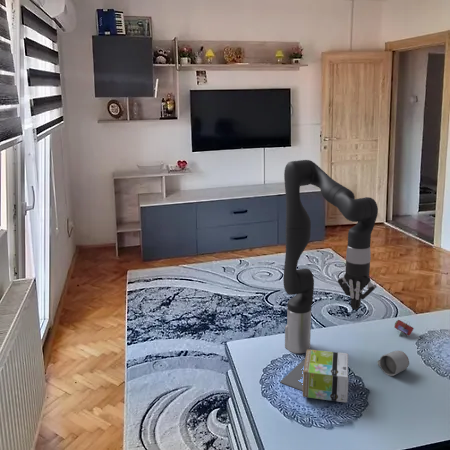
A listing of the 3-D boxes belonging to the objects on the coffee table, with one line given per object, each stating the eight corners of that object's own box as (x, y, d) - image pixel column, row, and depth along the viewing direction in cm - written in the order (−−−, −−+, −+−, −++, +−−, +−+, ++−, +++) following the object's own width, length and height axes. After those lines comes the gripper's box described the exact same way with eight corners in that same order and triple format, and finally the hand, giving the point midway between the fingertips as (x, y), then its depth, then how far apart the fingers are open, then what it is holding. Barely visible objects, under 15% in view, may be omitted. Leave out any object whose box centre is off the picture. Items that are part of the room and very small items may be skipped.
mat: (279, 382, 174) (279, 381, 174) (306, 357, 189) (306, 356, 189) (315, 396, 166) (315, 395, 166) (340, 369, 181) (340, 368, 181)
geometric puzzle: (418, 329, 205) (407, 313, 205) (415, 336, 199) (404, 319, 200) (403, 335, 209) (393, 319, 209) (400, 342, 203) (389, 326, 204)
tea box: (349, 376, 157) (302, 371, 161) (347, 403, 160) (302, 398, 163) (348, 352, 172) (305, 348, 175) (347, 377, 174) (305, 373, 178)
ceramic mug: (410, 371, 179) (411, 352, 177) (396, 379, 174) (397, 360, 172) (385, 360, 187) (386, 341, 185) (371, 367, 182) (372, 348, 181)
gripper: (333, 258, 159) (331, 307, 164) (373, 266, 151) (370, 317, 156) (343, 252, 165) (341, 299, 169) (382, 259, 157) (379, 309, 162)
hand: (355, 308), depth 163 cm, fingers closed
